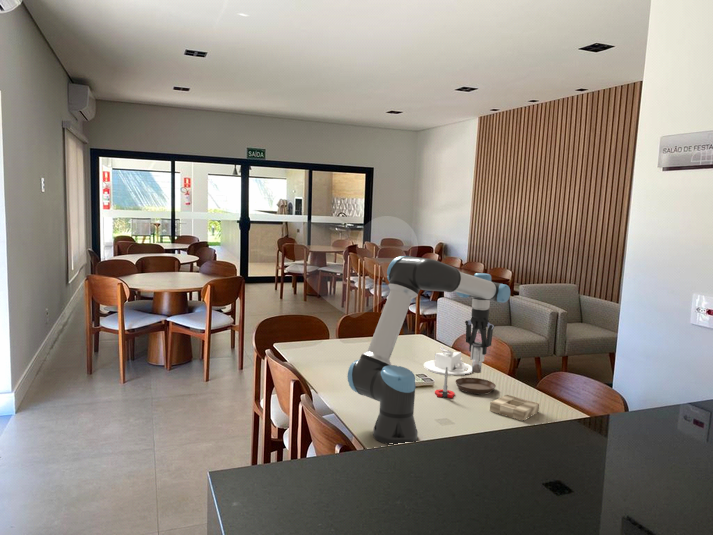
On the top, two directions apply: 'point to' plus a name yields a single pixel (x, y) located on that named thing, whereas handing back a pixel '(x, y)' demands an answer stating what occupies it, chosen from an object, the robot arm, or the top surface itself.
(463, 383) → the plant saucer
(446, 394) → the tow hook
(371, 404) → the top surface
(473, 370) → the steel pin
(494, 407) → the oak hitch block
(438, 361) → the dish
